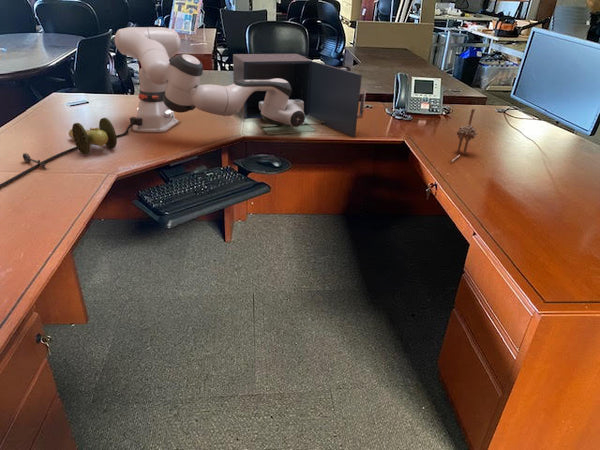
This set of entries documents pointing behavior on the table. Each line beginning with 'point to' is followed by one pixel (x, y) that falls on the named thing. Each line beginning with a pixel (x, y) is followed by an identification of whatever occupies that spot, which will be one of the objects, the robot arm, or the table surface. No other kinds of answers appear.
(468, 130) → the ostrich figurine
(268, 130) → the desk mat
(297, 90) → the cupboard
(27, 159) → the key
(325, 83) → the cupboard door
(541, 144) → the table surface
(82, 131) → the cannon
